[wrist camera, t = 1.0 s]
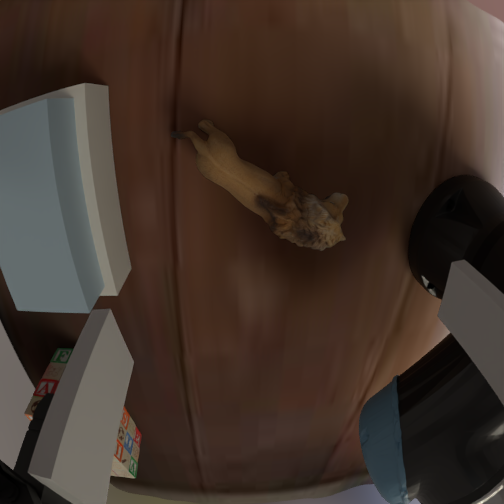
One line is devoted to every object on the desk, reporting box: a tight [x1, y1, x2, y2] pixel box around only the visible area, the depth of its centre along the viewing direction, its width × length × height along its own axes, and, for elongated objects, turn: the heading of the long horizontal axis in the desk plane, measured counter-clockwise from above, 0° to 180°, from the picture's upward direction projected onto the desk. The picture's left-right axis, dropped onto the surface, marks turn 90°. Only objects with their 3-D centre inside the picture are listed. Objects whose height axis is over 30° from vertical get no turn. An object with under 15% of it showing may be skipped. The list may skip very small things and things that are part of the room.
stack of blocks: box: [25, 348, 141, 478], centre depth 34 cm, size 21×6×12 cm, turn 4°
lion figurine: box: [171, 119, 348, 251], centre depth 23 cm, size 15×5×9 cm, turn 62°
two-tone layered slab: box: [0, 83, 131, 313], centre depth 22 cm, size 10×18×9 cm, turn 1°
